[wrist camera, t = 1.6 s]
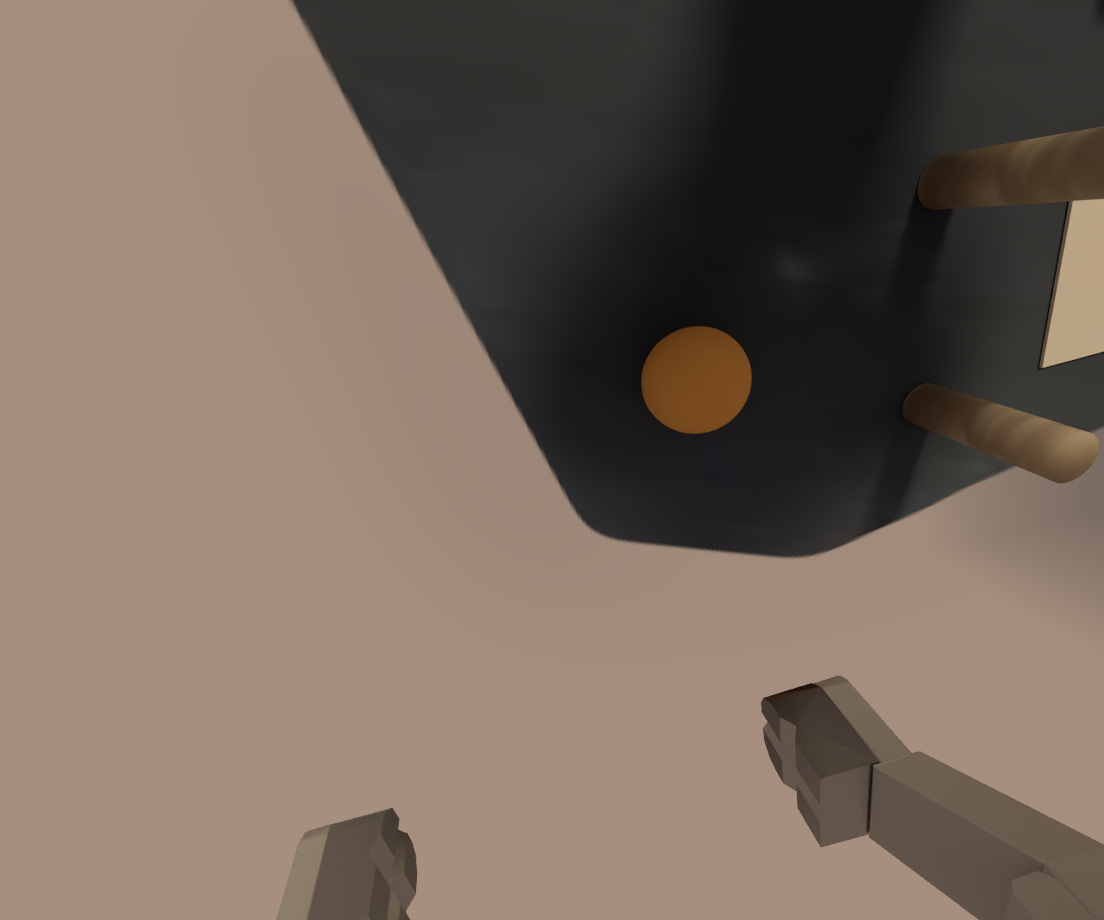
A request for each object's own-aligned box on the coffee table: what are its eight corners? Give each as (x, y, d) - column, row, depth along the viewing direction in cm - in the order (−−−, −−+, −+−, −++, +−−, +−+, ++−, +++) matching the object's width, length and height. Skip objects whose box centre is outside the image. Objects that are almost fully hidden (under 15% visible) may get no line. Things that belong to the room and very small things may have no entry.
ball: (621, 332, 28) (654, 353, 23) (717, 308, 28) (770, 323, 23) (636, 425, 30) (669, 461, 25) (725, 401, 31) (775, 433, 26)
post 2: (903, 389, 32) (1052, 440, 24) (942, 378, 32) (1104, 426, 24) (901, 427, 33) (1042, 489, 25) (938, 416, 33) (1092, 475, 25)
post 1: (919, 160, 27) (1116, 126, 19) (965, 149, 27) (1182, 109, 19) (915, 214, 28) (1101, 204, 20) (960, 203, 28) (1163, 189, 20)
